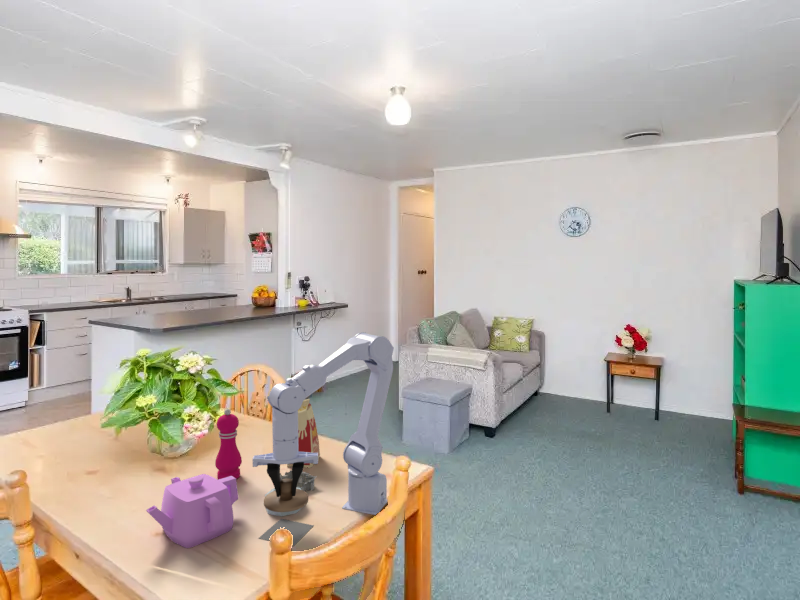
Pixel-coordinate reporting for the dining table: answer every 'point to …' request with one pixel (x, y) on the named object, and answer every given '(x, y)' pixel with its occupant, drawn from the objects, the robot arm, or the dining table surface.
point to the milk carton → (307, 431)
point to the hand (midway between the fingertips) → (286, 494)
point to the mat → (294, 527)
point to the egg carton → (301, 480)
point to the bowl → (281, 512)
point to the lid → (286, 498)
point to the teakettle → (196, 509)
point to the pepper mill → (228, 447)
